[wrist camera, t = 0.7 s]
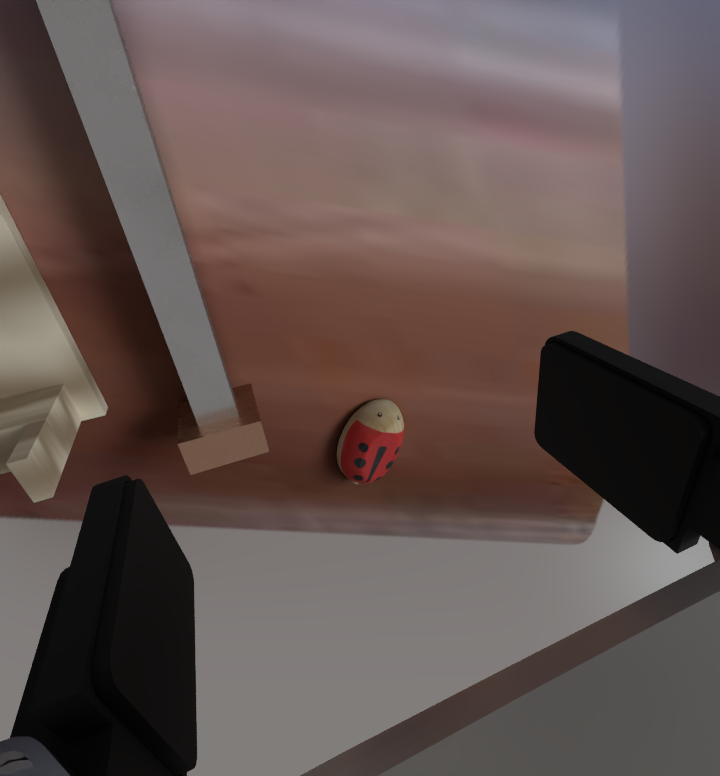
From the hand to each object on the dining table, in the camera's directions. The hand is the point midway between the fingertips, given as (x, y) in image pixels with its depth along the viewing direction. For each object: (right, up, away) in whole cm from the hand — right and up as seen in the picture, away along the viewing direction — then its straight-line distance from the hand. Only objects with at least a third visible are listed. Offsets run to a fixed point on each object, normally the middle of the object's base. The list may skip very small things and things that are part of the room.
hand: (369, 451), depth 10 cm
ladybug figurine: (0, -3, +35) cm, 35 cm away
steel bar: (-14, +12, +20) cm, 27 cm away
